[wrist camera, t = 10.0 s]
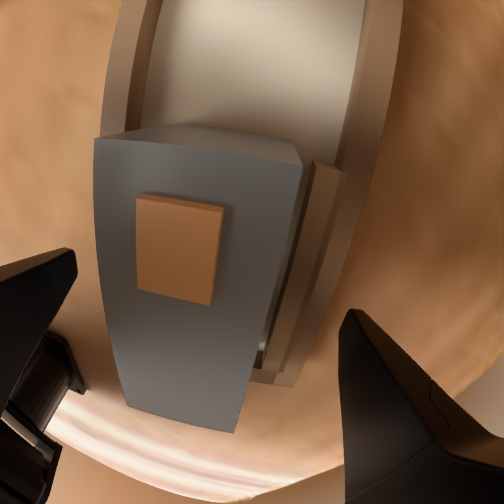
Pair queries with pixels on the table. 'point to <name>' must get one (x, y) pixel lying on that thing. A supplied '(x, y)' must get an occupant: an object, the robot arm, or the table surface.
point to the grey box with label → (190, 261)
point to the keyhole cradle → (271, 120)
